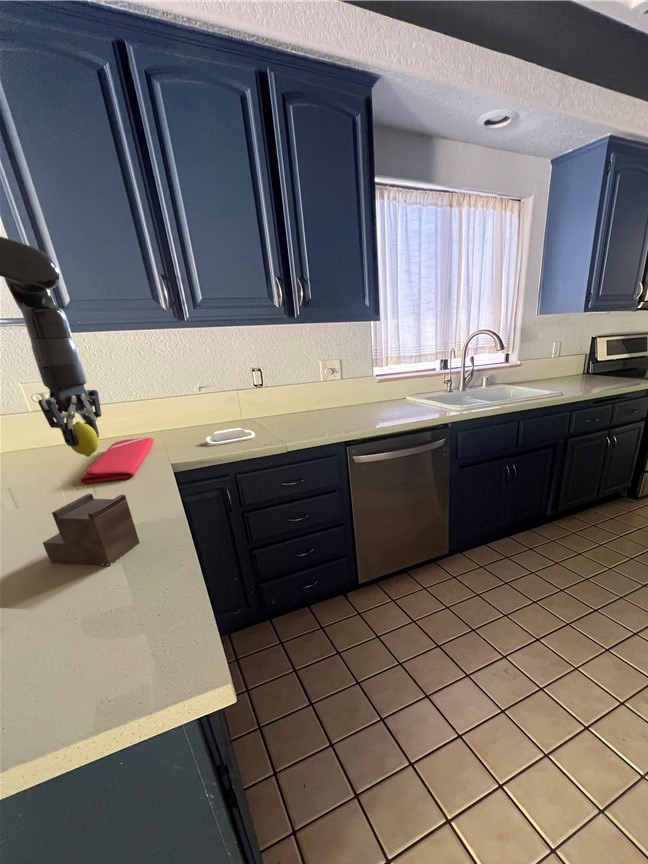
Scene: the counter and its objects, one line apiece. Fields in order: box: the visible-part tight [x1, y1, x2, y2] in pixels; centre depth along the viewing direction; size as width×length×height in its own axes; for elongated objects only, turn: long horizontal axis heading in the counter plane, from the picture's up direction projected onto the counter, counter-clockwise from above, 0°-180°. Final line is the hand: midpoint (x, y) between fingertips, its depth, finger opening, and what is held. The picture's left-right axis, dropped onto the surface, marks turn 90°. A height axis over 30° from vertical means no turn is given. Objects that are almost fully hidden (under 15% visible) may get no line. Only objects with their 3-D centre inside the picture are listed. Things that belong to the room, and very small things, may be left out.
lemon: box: [70, 421, 100, 458], centre depth 95 cm, size 6×6×8 cm
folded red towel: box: [79, 437, 155, 484], centre depth 154 cm, size 16×41×4 cm, turn 17°
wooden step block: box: [42, 493, 140, 566], centre depth 93 cm, size 14×10×12 cm
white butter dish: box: [205, 427, 256, 446], centre depth 179 cm, size 20×8×4 cm, turn 125°
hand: (83, 441), depth 95 cm, fingers closed on lemon, 5 cm apart
